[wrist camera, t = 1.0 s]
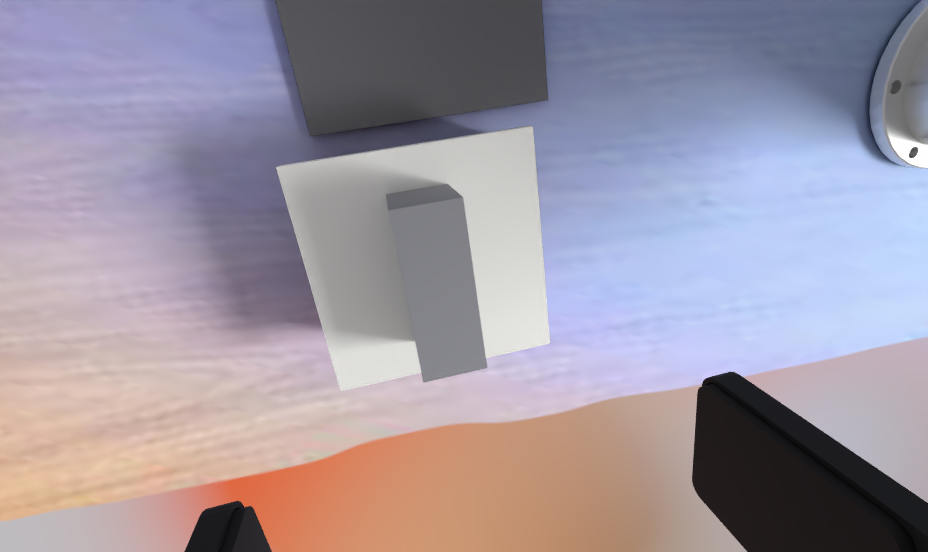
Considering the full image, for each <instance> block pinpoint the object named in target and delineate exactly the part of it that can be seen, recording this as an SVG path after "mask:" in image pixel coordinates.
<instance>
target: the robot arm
mask: <svg viewBox="0 0 928 552" xmlns="http://www.w3.org/2000/svg"><path fill="white" fill-rule="evenodd" d="M869 112H870V122H871V129H872V132H873V135H874V138H875V141H876V143H877V145H878V146H879V148H880V150H881V151H882V153H883V154H884V155H885V156H886V157H888V158H889V159H890V160H891V161H893V162H895V163H897V164H899V165H901V166H906V167H912V168H928V0H921V1H920V2H919V3H918V4H917V5H916V6H915V7H914V8H913V9H912V11H911V12H910V13H909V14H908V15H907V16H906V17H905V19H904V20H903V21H902V22H901V24H900V25H899V27H898V28H897V30H896V31H895V33H894V34H893V36H892V37H891V39H890V41H889V43H888V45H887V47H886V49H885V51H884V53H883V55H882V57H881V59H880V62H879V65H878V68H877V70H876V73H875V76H874V81H873V85H872V90H871V95H870V110H869ZM696 411H697V412H696V426H695V443H694V458H693V474H692V482H693V486H694V488H695V491H696V492H697V494H698V496H699V497H700V498H701V500H702V501H703V502H704V503H705V504H706V505H707V506H708V507H709V509H710V510H711V511H712V512H713V513H714V514H715V515H716V517H717V518H718V519H719V520H720V521H721V522H722V523H723V524H724V526H726V528H727V529H728V530H729V531H730V532H731V534H732V535H733V536H734V537H735V538H736V539H737V540H738V541H739V543H740V544H741V545H742V546H743V547H744V548H745V549H746V550H747V552H928V503H927V502H925V501H924V500H922V499H921V498H919V497H918V496H916V495H915V494H914V493H912V492H911V491H909V490H908V489H906V488H905V487H903V486H902V485H900V484H899V483H897V482H896V481H894V480H893V479H892V478H890V477H889V476H887V475H886V474H884V473H883V472H881V471H880V470H878V469H877V468H875V467H874V466H872V465H871V464H870V463H868V462H867V461H865V460H864V459H862V458H861V457H859V456H858V455H856V454H855V453H853V452H852V451H850V450H849V449H847V448H846V447H845V446H843V445H842V444H840V443H839V442H837V441H836V440H834V439H833V438H831V437H830V436H828V435H827V434H825V433H824V432H823V431H821V430H819V429H818V428H817V427H815V426H814V425H812V424H811V423H809V422H808V421H806V420H805V419H803V418H802V417H801V416H799V415H798V414H796V413H794V412H793V411H792V410H790V409H789V408H787V407H786V406H784V405H783V404H781V403H780V402H778V401H777V400H776V399H774V398H773V397H771V396H770V395H768V394H767V393H765V392H764V391H762V390H761V389H759V388H758V387H756V386H755V385H754V384H752V383H751V382H749V381H748V380H746V379H745V378H743V377H742V376H740V375H739V374H737V373H735V372H728V373H724V374H720V375H716V376H712V377H709V378H706V379H705V380H704V381H703V384H702V387H700V388H699V389H698V394H697V410H696ZM185 552H272V551H271V549H270V546H269V544H268V542H267V539H266V537H265V535H264V533H263V530H262V527H261V525H260V523H259V521H258V518H257V516H256V513H255V511H254V509H253V508H252V507H251V506H248V507H245V508H244V506H243V504H242V503H241V502H239V501H235V502H231V503H227V504H224V505H220V506H216V507H212V508H208V509H206V510H204V511H203V512H202V514H201V515H200V517H199V520H198V522H197V524H196V526H195V529H194V531H193V533H192V536H191V538H190V540H189V543H188V545H187V547H186V550H185Z"/></svg>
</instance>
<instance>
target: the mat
mask: <svg viewBox="0 0 928 552" xmlns="http://www.w3.org/2000/svg"><path fill="white" fill-rule="evenodd" d="M276 4H277V8H278V12H279V16H280V20H281V24H282V28H283V32H284V36H285V39H286V43H287V47H288V51H289V55H290V59H291V63H292V67H293V71H294V75H295V79H296V83H297V87H298V90H299V94H300V98H301V102H302V106H303V110H304V114H305V118H306V122H307V126H308V130H309V134H310V136H315V135H321V134H328V133H334V132H341V131H348V130H354V129H361V128H367V127H374V126H381V125H387V124H394V123H400V122H407V121H414V120H420V119H427V118H433V117H440V116H446V115H453V114H460V113H466V112H473V111H479V110H486V109H493V108H499V107H506V106H512V105H519V104H526V103H532V102H539V101H545V100H548V93H547V78H546V62H545V47H544V32H543V16H542V1H541V0H276Z"/></svg>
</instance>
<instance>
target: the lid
mask: <svg viewBox="0 0 928 552" xmlns="http://www.w3.org/2000/svg"><path fill="white" fill-rule="evenodd" d="M276 169H277V173H278V176H279V180H280V183H281V187H282V190H283V194H284V197H285V200H286V204H287V207H288V211H289V214H290V218H291V221H292V225H293V228H294V232H295V235H296V239H297V242H298V245H299V249H300V252H301V256H302V259H303V263H304V266H305V270H306V273H307V277H308V280H309V284H310V287H311V290H312V294H313V297H314V301H315V304H316V308H317V311H318V315H319V318H320V322H321V325H322V329H323V332H324V335H325V339H326V342H327V346H328V349H329V353H330V356H331V360H332V363H333V367H334V370H335V374H336V377H337V380H338V384H339V387H340V391H344V390H348V389H353V388H357V387H361V386H366V385H370V384H374V383H379V382H383V381H388V380H392V379H396V378H401V377H405V376H410V375H414V374H418V373H422V378H423V382H428V381H432V380H436V379H441V378H445V377H449V376H454V375H458V374H462V373H467V372H471V371H475V370H480V369H484V368H487V363H486V358H489V357H493V356H497V355H502V354H506V353H511V352H515V351H519V350H524V349H528V348H533V347H537V346H541V345H546V344H550V337H549V324H548V311H547V298H546V286H545V273H544V260H543V247H542V235H541V222H540V209H539V196H538V184H537V171H536V158H535V145H534V133H533V126H523V127H517V128H511V129H505V130H498V131H492V132H486V133H479V134H473V135H467V136H460V137H454V138H448V139H442V140H435V141H429V142H423V143H416V144H410V145H404V146H397V147H391V148H385V149H379V150H372V151H366V152H360V153H353V154H347V155H341V156H334V157H328V158H322V159H316V160H309V161H303V162H297V163H290V164H284V165H280V166H277V167H276Z"/></svg>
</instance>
